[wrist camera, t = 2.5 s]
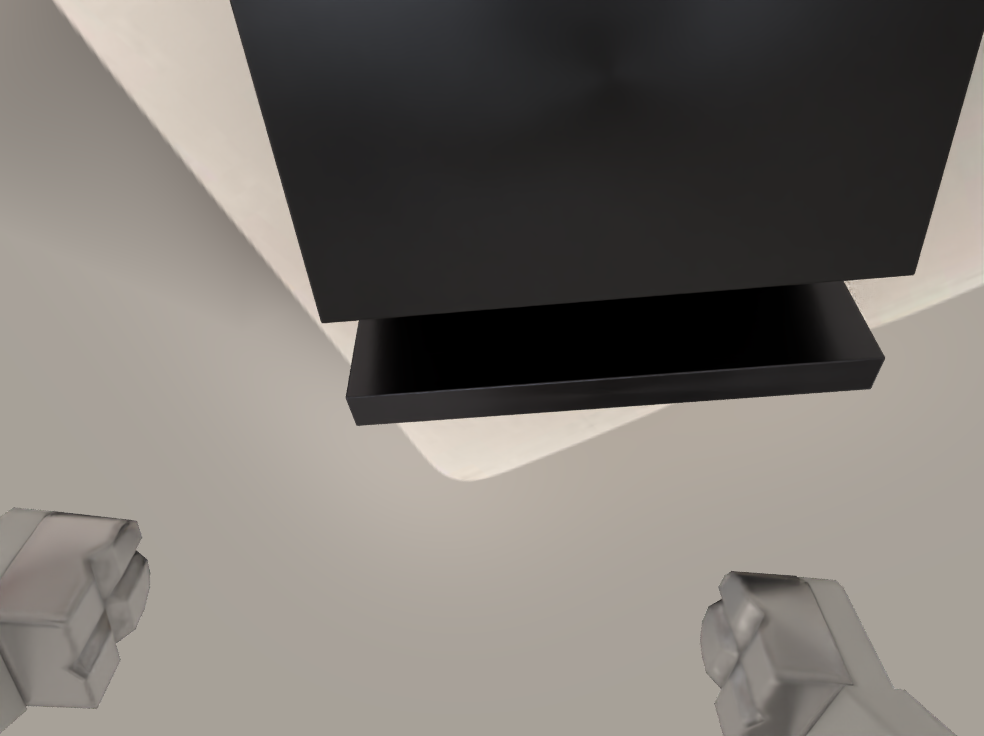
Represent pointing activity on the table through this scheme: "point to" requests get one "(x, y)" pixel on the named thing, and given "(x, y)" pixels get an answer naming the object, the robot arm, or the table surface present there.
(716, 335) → the oven door
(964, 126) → the table surface
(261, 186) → the table surface
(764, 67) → the oven
